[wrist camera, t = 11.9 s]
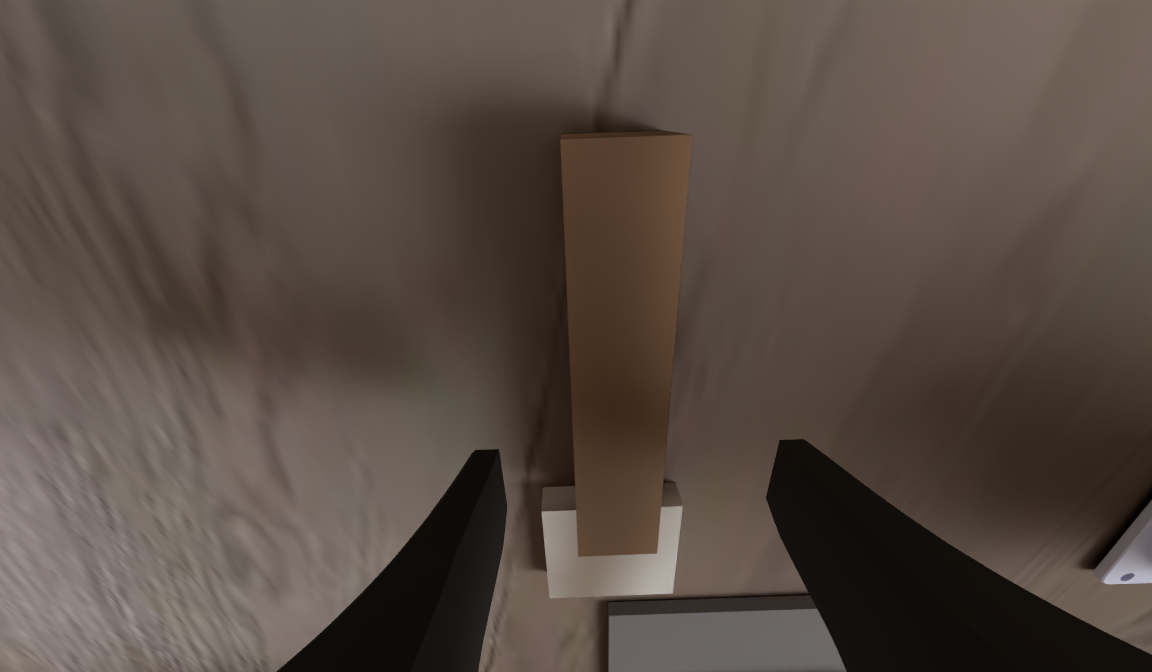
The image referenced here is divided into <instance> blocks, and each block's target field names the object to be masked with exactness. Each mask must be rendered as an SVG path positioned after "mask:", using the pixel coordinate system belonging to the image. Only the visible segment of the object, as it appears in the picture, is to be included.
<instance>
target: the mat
mask: <svg viewBox="0 0 1152 672" xmlns="http://www.w3.org/2000/svg"><path fill="white" fill-rule="evenodd" d="M608 672H846V669H845V667H844V664H843V662H842V659H841V657H840V655H839V652H838V650H837V648H836V646H835V644H834V642H833V639H832V637H831V635H830V633H829V631H828V629H827V627H826V625H825V623H824V621H823V619H822V617H821V615H820V613H819V612H818V610H817V608H816V606H815V604H814V602H813V600H812V598H811V596H810V595H803V596H774V597H745V598H715V599H686V600H657V601H628V602H608Z"/></svg>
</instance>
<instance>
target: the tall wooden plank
mask: <svg viewBox="0 0 1152 672" xmlns="http://www.w3.org/2000/svg"><path fill="white" fill-rule="evenodd" d="M692 137H693V135H691V134H684V133H677V132H670V131H663V130H658V131H629V132H600V133H571V134H561V138H560V146H561V169H562V192H563V216H564V239H565V262H566V286H567V309H568V332H569V356H570V379H571V402H572V426H573V449H574V472H575V486H561V487H543V494H542V510H541V513H542V523H543V534H544V544H545V555H546V565H547V576H548V586H549V597H550V598H569V597H593V596H618V595H643V594H668V593H673V585H674V577H675V568H676V560H677V551H678V543H679V534H680V526H681V517H682V509H683V505H682V502H681V499H680V495H679V492H678V489H677V485H676V482H674V483H663V479H664V467H665V455H666V444H667V432H668V420H669V408H670V396H671V385H672V373H673V361H674V349H675V337H676V326H677V314H678V302H679V290H680V278H681V267H682V255H683V243H684V231H685V219H686V208H687V196H688V184H689V172H690V161H691V149H692Z"/></svg>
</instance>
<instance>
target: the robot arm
mask: <svg viewBox="0 0 1152 672" xmlns="http://www.w3.org/2000/svg"><path fill="white" fill-rule="evenodd" d="M766 499H767V502H768V505H769V508H770V511H771V513H772V516H773V519H774V522H775V524H776V527H777V529H778V532H779V535H780V537H781V539H782V541H783V543H784V545H785V547H786V549H787V551H788V553H789V555H790V557H791V559H792V561H793V563H794V565H795V567H796V569H797V571H798V573H799V575H800V577H801V579H802V581H803V583H804V584H805V586H806V588H807V590H808V592H809V594H810V596H811V598H812V600H813V602H814V604H815V606H816V608H817V610H818V612H819V613H820V615H821V617H822V619H823V621H824V623H825V625H826V627H827V629H828V631H829V633H830V635H831V637H832V639H833V642H834V644H835V646H836V648H837V650H838V652H839V655H840V657H841V659H842V662H843V664H844V667H845V669H846V672H1152V655H1151V654H1149V653H1147V652H1145V651H1143V650H1141V649H1139V648H1136V647H1134V646H1132V645H1130V644H1128V643H1126V642H1124V641H1122V640H1120V639H1118V638H1116V637H1114V636H1112V635H1110V634H1108V633H1106V632H1104V631H1102V630H1100V629H1098V628H1096V627H1094V626H1092V625H1090V624H1088V623H1086V622H1084V621H1082V620H1080V619H1078V618H1077V617H1075V616H1073V615H1071V614H1069V613H1067V612H1065V611H1063V610H1062V609H1060V608H1058V607H1056V606H1054V605H1052V604H1051V603H1049V602H1047V601H1045V600H1043V599H1041V598H1040V597H1038V596H1036V595H1034V594H1032V593H1030V592H1028V591H1027V590H1025V589H1023V588H1021V587H1020V586H1018V585H1016V584H1014V583H1013V582H1011V581H1009V580H1007V579H1006V578H1004V577H1002V576H1000V575H999V574H997V573H995V572H994V571H992V570H990V569H989V568H987V567H986V566H984V565H982V564H981V563H979V562H977V561H976V560H974V559H972V558H971V557H969V556H967V555H966V554H964V553H962V552H961V551H959V550H958V549H956V548H954V547H953V546H951V545H950V544H948V543H947V542H945V541H944V540H942V539H941V538H939V537H938V536H936V535H935V534H933V533H932V532H930V531H929V530H927V529H926V528H924V527H923V526H921V525H920V524H918V523H917V522H915V521H914V520H912V519H911V518H909V517H908V516H907V515H905V514H904V513H902V512H901V511H900V510H898V509H897V508H895V507H894V506H893V505H891V504H890V503H888V502H887V501H886V500H884V499H883V498H881V497H880V496H879V495H877V494H876V493H875V492H873V491H872V490H871V489H869V488H868V487H867V486H865V485H864V484H863V483H861V482H860V481H859V480H857V479H856V478H855V477H853V476H852V475H851V474H849V473H848V472H847V471H845V470H844V469H843V468H842V467H840V466H839V465H838V464H836V463H835V462H834V461H832V460H831V459H830V458H828V457H827V456H826V455H824V454H823V453H822V452H820V451H819V450H818V449H816V448H815V447H814V446H812V445H811V444H810V443H808V442H807V441H805V440H804V439H798V440H780V441H779V445H778V449H777V454H776V458H775V462H774V466H773V471H772V475H771V479H770V483H769V487H768V492H767V496H766ZM506 514H507V501H506V495H505V488H504V481H503V474H502V467H501V460H500V453H499V449H494V450H475V451H474V452H473V453H472V454H471V455H470V457H469V458H468V460H467V462H466V463H465V465H464V466H463V468H462V469H461V471H460V472H459V474H458V475H457V477H456V478H455V480H454V481H453V483H452V484H451V485H450V487H449V488H448V490H447V491H446V493H445V494H444V495H443V497H442V498H441V499H440V501H439V502H438V504H437V505H436V506H435V508H434V509H433V510H432V512H431V513H430V514H429V516H428V517H427V518H426V520H425V521H424V522H423V524H422V525H421V526H420V527H419V528H418V530H417V531H416V532H415V533H414V535H413V536H412V537H411V538H410V539H409V541H408V542H407V543H406V544H405V546H404V547H403V548H402V549H401V550H400V552H399V553H398V554H397V555H396V556H395V557H394V559H393V560H392V561H391V562H390V563H389V564H388V565H387V566H386V568H385V569H384V570H383V571H382V572H381V573H380V574H379V575H378V576H377V577H376V578H375V580H374V581H373V582H372V583H371V584H370V585H369V586H368V587H367V588H366V589H365V590H364V591H363V592H362V593H361V594H360V595H359V596H358V597H357V598H356V599H355V600H354V601H353V602H352V603H351V604H350V605H349V606H348V607H347V608H346V609H345V610H344V611H343V612H342V613H341V614H340V615H339V616H338V617H337V618H336V619H335V620H334V621H333V622H332V623H331V624H330V625H329V626H328V627H327V628H325V629H324V630H323V631H322V632H321V633H320V634H319V635H318V636H317V637H316V638H315V639H314V640H312V641H311V642H310V643H309V644H308V645H307V646H306V647H304V648H303V649H302V650H301V651H300V652H299V653H298V654H296V655H295V656H294V657H293V658H292V659H291V660H289V661H288V662H287V663H286V664H285V665H284V666H283V667H281V668H280V669H279V670H278V671H277V672H478V669H479V662H480V656H481V650H482V645H483V639H484V634H485V630H486V625H487V620H488V616H489V611H490V606H491V602H492V597H493V592H494V588H495V583H496V578H497V573H498V569H499V564H500V559H501V554H502V549H503V543H504V534H505V524H506ZM1094 576H1095V577H1097V578H1098V579H1099V580H1100V581H1101V582H1103V583H1105V584H1132V583H1152V500H1151V501H1150V502H1149V503H1148V504H1147V506H1146V507H1145V508H1144V509H1143V511H1142V512H1141V513H1140V514H1139V516H1138V517H1137V518H1136V519H1135V520H1134V522H1133V523H1132V524H1131V525H1130V527H1129V528H1128V529H1127V530H1126V532H1125V533H1124V534H1123V535H1122V536H1121V538H1120V539H1119V540H1118V541H1117V543H1116V544H1115V545H1114V546H1113V548H1112V549H1111V550H1110V551H1109V552H1108V554H1107V555H1106V556H1105V557H1104V559H1103V560H1102V561H1101V562H1100V563H1099V565H1098V566H1097V567H1096V568H1095V570H1094Z"/></svg>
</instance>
